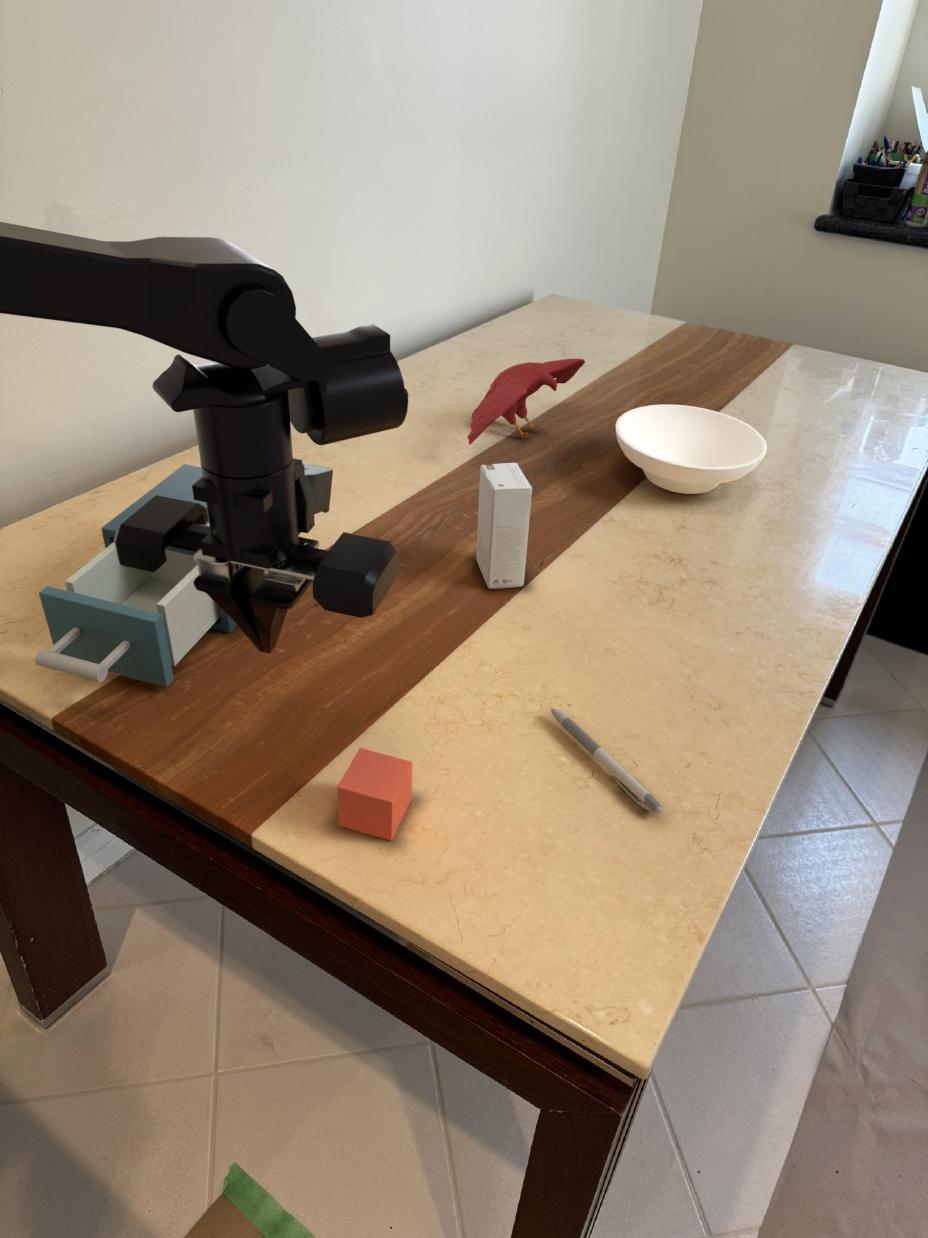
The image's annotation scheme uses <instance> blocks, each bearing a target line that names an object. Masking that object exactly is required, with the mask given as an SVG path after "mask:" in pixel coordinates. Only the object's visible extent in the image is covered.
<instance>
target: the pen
mask: <svg viewBox="0 0 928 1238" xmlns="http://www.w3.org/2000/svg"><path fill="white" fill-rule="evenodd" d="M550 712H551V714H552V716H553V718H554V719H555V720H556V721H557V723H558V724H559V725H560V726H561V727H562V728H563V729H564V730H565V731H566V732H568V734H569V735H570V736H571V737H572V738H574V739H575V741H577V743H578V744H580V745H581V746H582V747H583V748H584V749H585V750H586V751H587V752H589V754H590V755H591V756H593V758H595V759H596V760H597V761H598V762H600V764H602V765H603V767H604V768H606V769H607V770H608V772H610V773H611V774H612V777H613V778H614V780H615V782H616V783H617V784H618V785H619V786H620V788H621V789H622V790H623V791H624V792H625V793H626V795H628V796H629V798H630V799H632V800H633V801H634V802H635V803H636V804H637V805H638V806H639V807H641V808H642V809H644V810H646V811H648V812H657V813H658V814H661V813H662V812H663V808H662V807H661V804H660V803H659V801H658V800H657V799H656V797H655V796H653V794H652V793H650V792H649V791H648V790H647V789H646V788H645V787H644V786H642V784H640V783H639V782H638V781H637V780H636V779H635V778H634V777H633V776H632V775H631V774H630V773H629V772H628V771H627V770H626V769H625V768H623V766H621V765H620V764H619V763H618V762H617V761H616V760H615V759H614V758H613V757H611V756H610V755H609V753H607V752H606V750H605V749H604V748H603V747H602V746H601V745H599V744H598V743H597V742H596V741H595V740H594V739H593V738H592V737H591V736H590V735H589V734H588V733H587V732H585V731H584V730H583V729H582V728H581V727H580V726H579V725H578V724H577V723H576V722H575V721H574V720H572V718H571V717H569V716H567V715H566V714H565V713H563V712H562V711H561V710H559V709H557V708H554V707H550ZM628 790H629V791H630V792H629V791H628Z"/></svg>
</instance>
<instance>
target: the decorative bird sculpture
mask: <svg viewBox="0 0 928 1238" xmlns="http://www.w3.org/2000/svg"><path fill="white" fill-rule="evenodd" d="M585 363H586V360H585V359H584V358H564V359H558V360H557V359H556V360H551V361H544V362H534V361H533V362H531V361H530V362H523V363H518V364H515V365H512V366H510V367H507V368H506V369H504V370H503V371H500V372H499V373H498V374H497V376H496V377H495V378H494V379H493V381H492V383H491V384H490V385H489V389H488V390H487V392H486V393H485V395H484V398H483V399H482V400H481V401H480V402H479V404H478V405H477V407H476V408H475V409H474V411H473V412H472V414H471V417H470V418H471V419H472V421H471V422H470V425H469V428H470V431H469V433H468V434H467V437H466V438H467V440H468V445H469V446H471V445H472V444H473V443H474V442H475V441H476V440H477V439H478V438H479V437H480V435H481V434H483V432H484V431H485V430H486V429H487V428H488V427H490V426H491V425H492V424H493V423H494V422H495V421H496V420H498V419H499V418H500V417H502V418H504V419H505V420H506V422H508V423H509V424H510V425H512V426H514V427H515V428H516V430H517V431H518V433H520V436H519V438H520V439H522V437H524V436H526V435H528V434H529V432H525V433H524V432H523V431H522V430H521V428H520V427H519V426H518V424H517V417H518V418H520V419H524V420H525V422H526V423H527V424H528V425H529V426H530V429H529V431H530V432H532V430H534V429H536V428H538V427H540V425H535V426H534V425H533V424H532V423H531V421H530V420H529V418H528V417H527V416H528V409H527V398H528V397H530V396H532V395H533V394H535V393H537V391H539V390H540V389H541V388H542V386H548V387H549V388H550V389H551V390H552V391H554V392H556V391H557V388H558V385H559V384H566V383H568V382H569V381H570V380H572V378H573V377H574V376H575V375H576V374H577V373H578V372H579V370H580V369H581V368H582V367H583V366H584V365H585ZM516 416H517V417H516Z"/></svg>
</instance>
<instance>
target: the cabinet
mask: <svg viewBox="0 0 928 1238" xmlns="http://www.w3.org/2000/svg"><path fill="white" fill-rule="evenodd" d="M201 477H203V476H202V469H201V466H198V465H197V466H196V465H191V464H187V463H184V464H182V465H181V466H179V468H177V469H176V470H174V471H173V472H172V473H171V474H169V475H168V476H167V477H165V478H164V479H163V480H162V481H159V483H158V484H156V485H155V486H154V487H152V488H151V489H150V490H148V491H147V492H146V493H144V494H143V495H142V496H140V498H137V500H136V501H134V502H133V503H132V504H131V505H129V506H127V508H125V509H124V510H123V511H121V512H120V513H119V514H118V515H116V516H115V517H114V518H112V519H110V521H108V522H107V523H106V524H104V525H103V526H102V527H101V534H102V539H103V544H104V549H106V548H107V547H108V546H109V545H110V544H112V543H113V542H114V537H115V534H116V530H117V528H118V527H119V526H120V525H121V524H122V523H123V522H124V521H125V520H127V519H128V518H129V517H130V516H131V515H133V514H134V513H135V512H136V511H137V510H139V509H140V508H141V507H142V506H143V505H145V504H146V503H147V502H148V501H149V500H151V499H152V498H153V497H154V496H155V495H160V496H165V497H170V498H175V499H180V500H185V501H190V502H195V503H199V504H201V505H202V506H204V507H205V508H207V503H206V502H202V501H197V500H194V497H193V490H192V485H193V484H194V483H196V482H197V481H198V480H199V479H200V478H201ZM207 513H208V510H207ZM208 520H209V517H208ZM206 524H209V521H208V522H207V523H206ZM166 550H170V551H174V552H179V553H183V554H187V555H191V556H193V555H194V554H195V553H196V552H193V551H189V550H184V549H179V548H174V547H170V546H168V547H167V548H166ZM265 575H266V574H265ZM264 577H265V576H264ZM264 579H265V578H264ZM220 613H221V617H220V618H219V619H218V620H217V621H216V622H215V623H214V624H213V625H212V626H211V628H210V629H209V630H214V631H218V632H221V633H225V634H231V633H232V632H233V631H234V629H235V628H236V627H238V625H237V624H236V623H235V622H234V621H233V620H232V619H231V618H230V616H229V615H228V614H227V613H226V612H225V611H224V610H223V609H222V608H221V607H220Z"/></svg>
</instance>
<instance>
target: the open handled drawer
mask: <svg viewBox="0 0 928 1238" xmlns="http://www.w3.org/2000/svg"><path fill="white" fill-rule="evenodd" d="M165 553H166V558H167V561H166V562H165V563H164V564H163V565H162V566H161V567H160V568H159V569H157V570H156V571H155V572H154V573H153V572H149V571H144V570H140V569H135V568H131V567H126V566H121V565H120V563H119V561H118V557H117V552H116V548H115V544H114V542H113V543H112V544H110V545H109V546H108V547H107V548H106V549H105V548H104V549H103V550H102V551H101V552H99V553H98V554H97V555H95V556H94V557H93V558H92V559H90V560H89V561H88V562H87V563H85V564H84V565H83V566H82V567H80V568H79V569H78V570H76V572H74V573H73V574H72V575H70V576H69V577H68V578H67V579H65V580H64V583H65V589H62V588H58V587H54V586H49V585H47V586H45V587H44V588H43V589H41V590H40V591H39V592H38V595H39V599H40V602H41V607H42V609H43V613H44V617H45V620H46V623H47V628H48V630H49V636H50V638H51V642H52V646H51V647H49V649H48V650H47V649H39V650H38V651H37V653H36V654H35V657H34V661H35V662H34V663H35V664H36V665H37V666H39V667H43V668H47V669H50V670H54V671H57V672H62V673H64V674H67V675H68V674H69V675H73V676H76V677H79V678H83V679H87V680H90V681H95V682H97V683H103V682H104V681H105V680H106V679H107V676H108V673H112V674H116V675H120V676H124V677H128V678H131V679H134V680H139V681H142V682H146V683H150V684H153V685H157V686H161V687H164V688H167V687H169V686H170V685H171V684H172V682H173V681H174V680H175V678H174V672H173V667H176V666H177V664H179V663H180V661H182V659H183V658H184V657H185V656H186V655H187V654H188V653H189V651H190V650H191V649H192V648H193V647H194V646H195V645H196V644H197V643H198V642H199V641H200V640H201V638H202V637H204V635H205V634H206V633H207V632H208V631H209V630H211V629H210V628H211V626H212V625H213V624H214V623H215V622H216V621H217V620H218V619H219V618H220V617H221V613H220V607H219V606H218V605H217V604H216V603H215V602H214V601H213V600H212V599H211V598H210V597H209V596H208V595H207V594H206V593H205V592H202V591H198V590H196V588H195V586H194V580H195V579H196V578H197V577H198V576H199V570H198V564H197V562H195V561H194V560H193V556H191V555H187V554H183V553H179V552H174V551H170V550H166V549H165Z"/></svg>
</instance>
